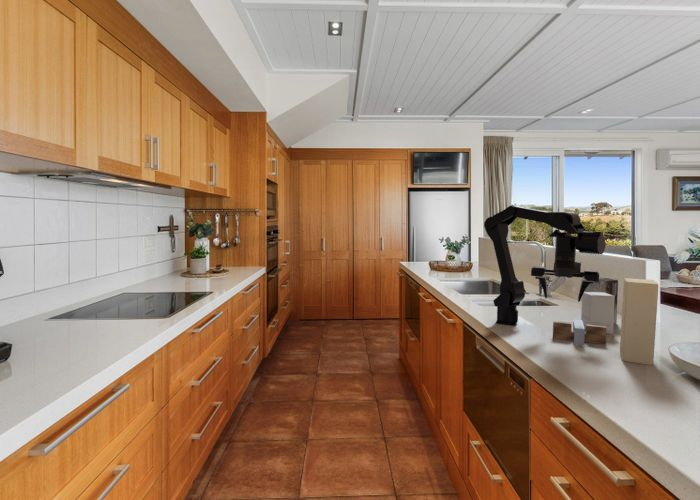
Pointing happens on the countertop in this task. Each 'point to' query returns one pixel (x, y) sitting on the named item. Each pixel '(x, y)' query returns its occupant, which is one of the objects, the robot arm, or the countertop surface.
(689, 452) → the countertop surface
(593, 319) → the supplement box
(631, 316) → the beige tall block
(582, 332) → the pale blue pillar
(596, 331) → the walnut block
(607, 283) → the coffee box
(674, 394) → the countertop surface
